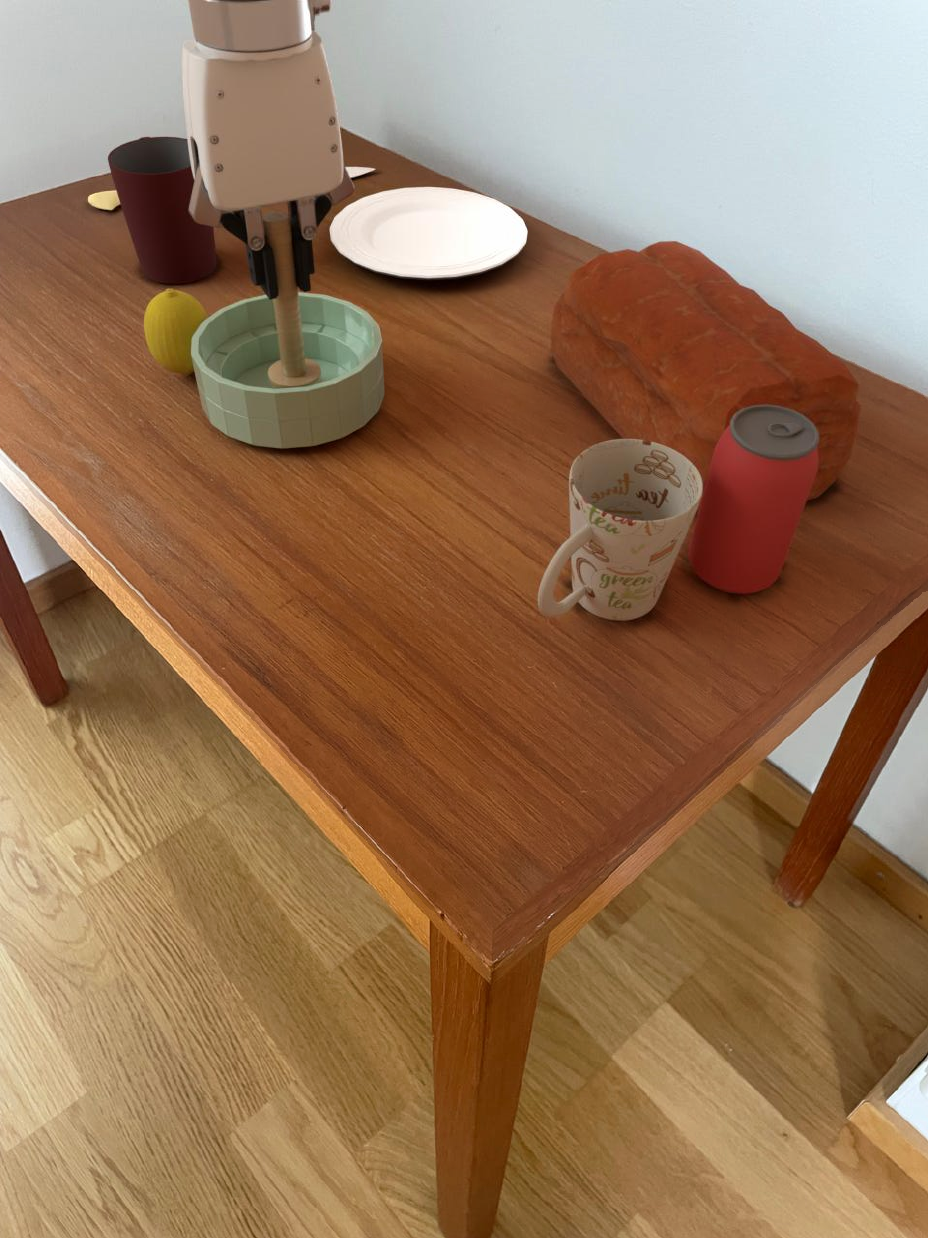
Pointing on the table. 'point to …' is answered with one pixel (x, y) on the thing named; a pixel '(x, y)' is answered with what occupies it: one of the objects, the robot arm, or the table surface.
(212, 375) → the bowl
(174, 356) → the lemon
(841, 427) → the bread
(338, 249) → the plate
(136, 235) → the mug
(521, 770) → the table surface
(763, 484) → the beer can
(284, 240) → the wooden peg with base
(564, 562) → the mug
